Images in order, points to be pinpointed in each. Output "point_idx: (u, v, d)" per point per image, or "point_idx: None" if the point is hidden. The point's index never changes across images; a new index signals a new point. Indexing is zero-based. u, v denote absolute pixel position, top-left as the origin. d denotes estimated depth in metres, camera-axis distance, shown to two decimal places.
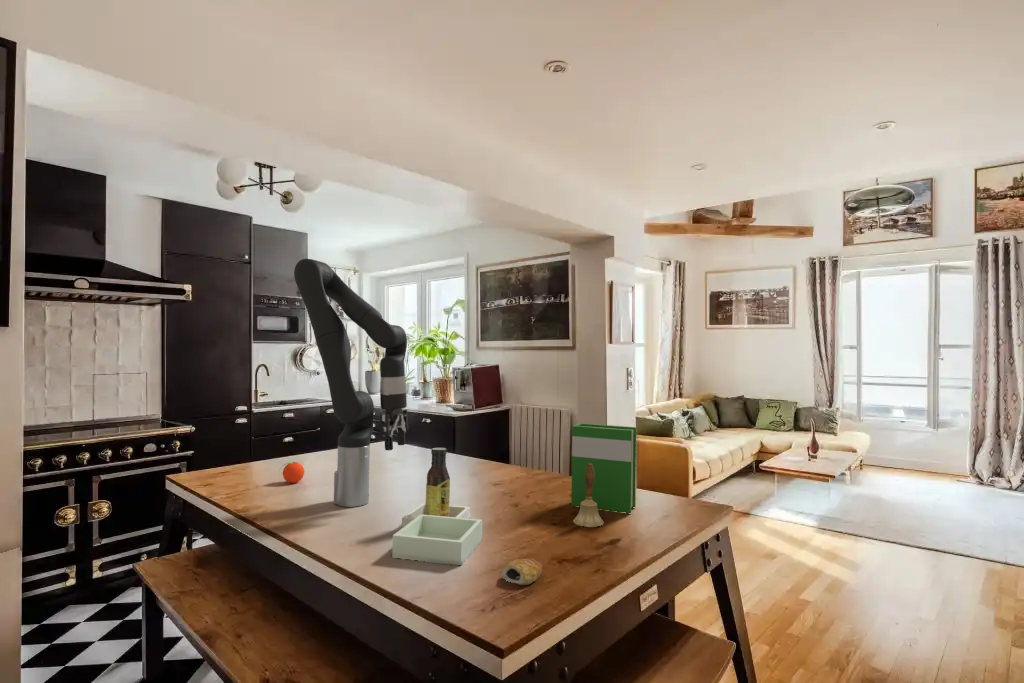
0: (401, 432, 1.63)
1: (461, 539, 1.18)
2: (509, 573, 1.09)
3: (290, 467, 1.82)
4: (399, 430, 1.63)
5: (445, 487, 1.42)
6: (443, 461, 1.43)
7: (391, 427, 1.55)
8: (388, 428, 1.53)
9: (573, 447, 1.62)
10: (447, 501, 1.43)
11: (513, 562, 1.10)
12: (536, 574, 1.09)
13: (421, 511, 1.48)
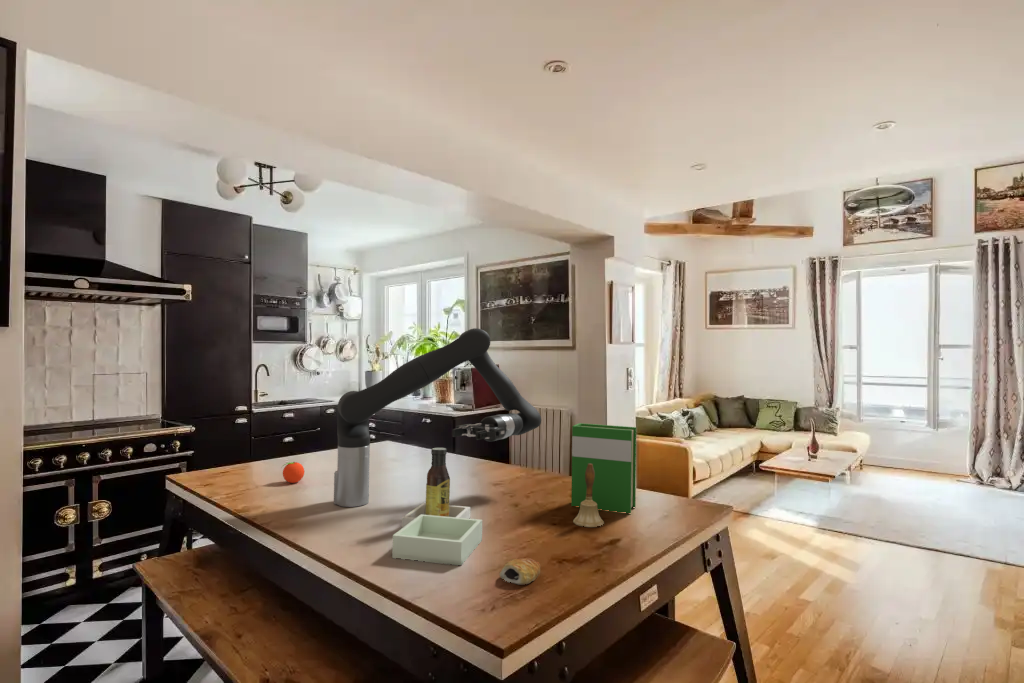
0: (461, 432, 1.59)
1: (461, 539, 1.18)
2: (508, 573, 1.09)
3: (290, 467, 1.82)
4: (462, 429, 1.59)
5: (445, 487, 1.42)
6: (443, 461, 1.43)
7: None
8: (496, 437, 1.55)
9: (573, 447, 1.62)
10: (447, 501, 1.43)
11: (511, 562, 1.10)
12: (534, 574, 1.09)
13: (421, 511, 1.48)
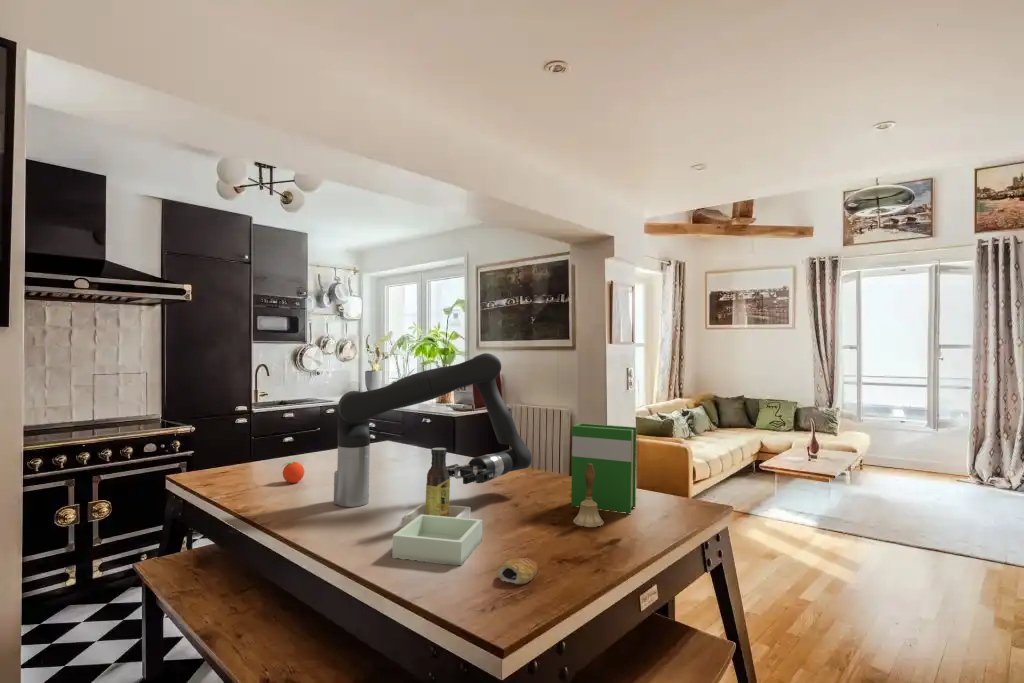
0: (449, 474, 1.54)
1: (461, 539, 1.18)
2: (505, 573, 1.09)
3: (290, 467, 1.82)
4: (450, 471, 1.55)
5: (445, 487, 1.42)
6: (443, 461, 1.43)
7: None
8: None
9: (573, 447, 1.62)
10: (447, 501, 1.43)
11: (509, 562, 1.11)
12: (532, 573, 1.09)
13: (421, 511, 1.48)
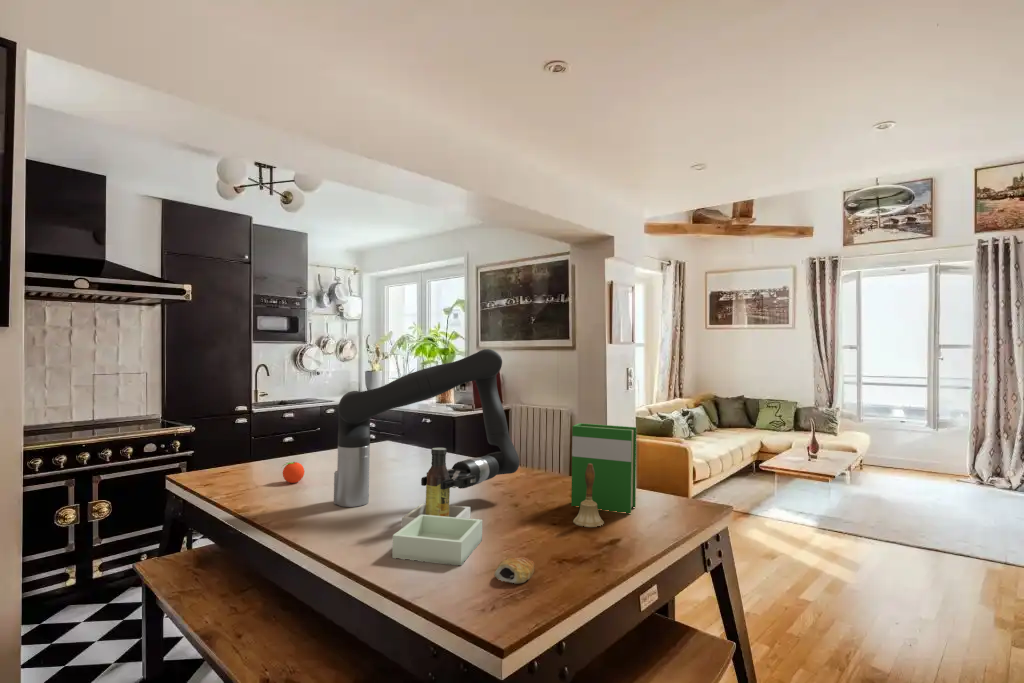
0: None
1: (461, 539, 1.18)
2: (503, 572, 1.09)
3: (290, 467, 1.82)
4: None
5: None
6: (443, 461, 1.43)
7: None
8: None
9: (573, 447, 1.62)
10: (447, 501, 1.43)
11: (506, 561, 1.11)
12: (529, 573, 1.10)
13: (421, 511, 1.48)
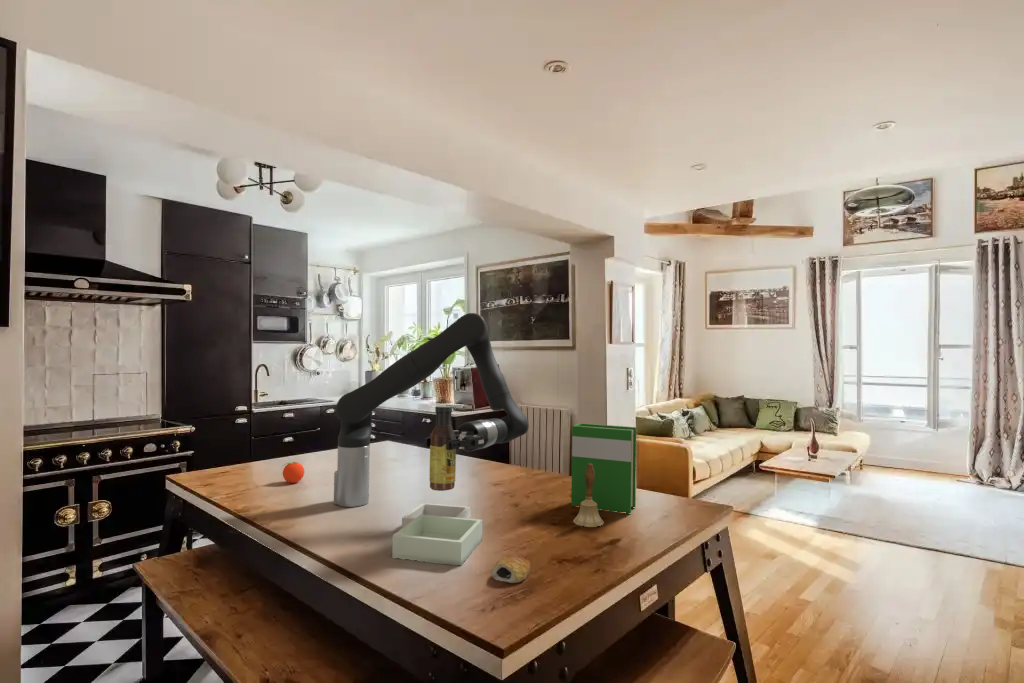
0: None
1: (461, 539, 1.18)
2: (500, 572, 1.09)
3: (290, 467, 1.82)
4: None
5: None
6: (448, 420, 1.30)
7: None
8: (472, 447, 1.31)
9: (573, 447, 1.62)
10: (454, 463, 1.30)
11: (503, 561, 1.11)
12: (526, 572, 1.10)
13: (421, 511, 1.48)
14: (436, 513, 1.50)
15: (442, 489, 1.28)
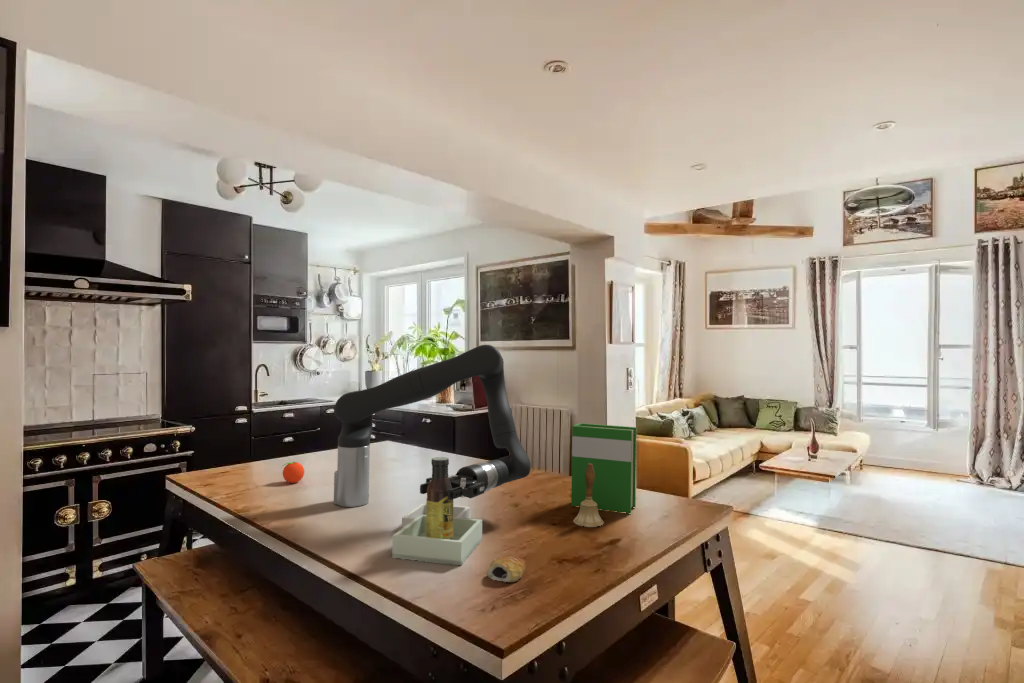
0: None
1: (461, 539, 1.18)
2: (495, 572, 1.09)
3: (290, 467, 1.82)
4: None
5: (448, 502, 1.24)
6: (445, 473, 1.25)
7: None
8: None
9: (573, 447, 1.62)
10: (451, 518, 1.25)
11: (498, 560, 1.11)
12: (521, 571, 1.10)
13: (421, 511, 1.48)
14: None
15: None
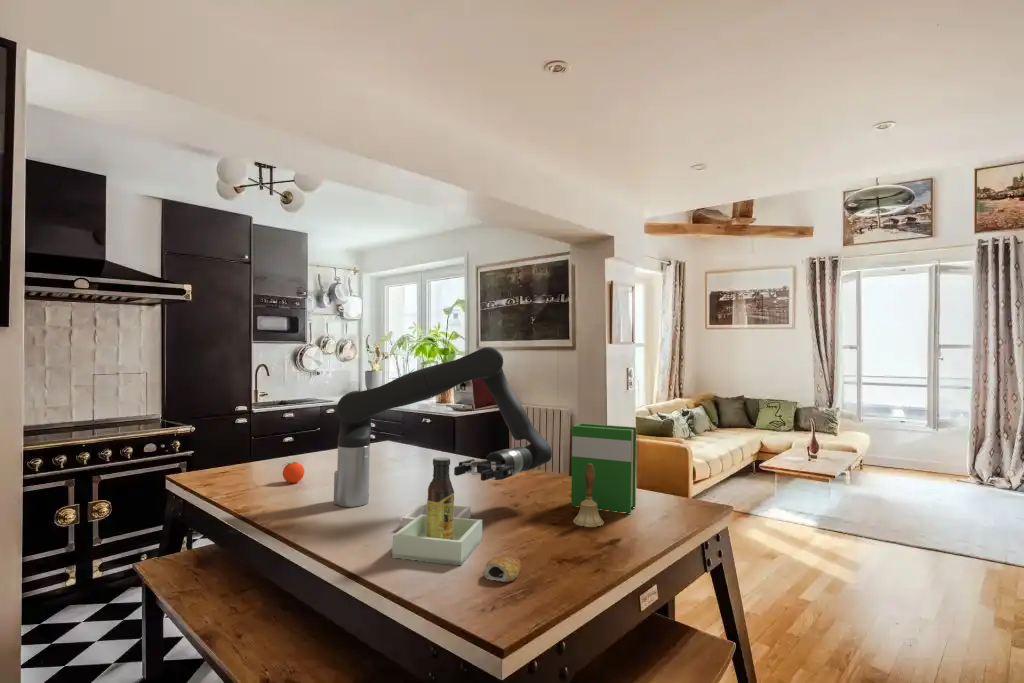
0: (465, 470, 1.42)
1: (461, 539, 1.18)
2: (492, 571, 1.09)
3: (290, 467, 1.82)
4: (466, 467, 1.43)
5: (449, 502, 1.24)
6: (446, 473, 1.25)
7: None
8: None
9: (573, 447, 1.62)
10: (451, 518, 1.25)
11: (494, 560, 1.11)
12: (518, 570, 1.11)
13: (421, 511, 1.48)
14: None
15: None
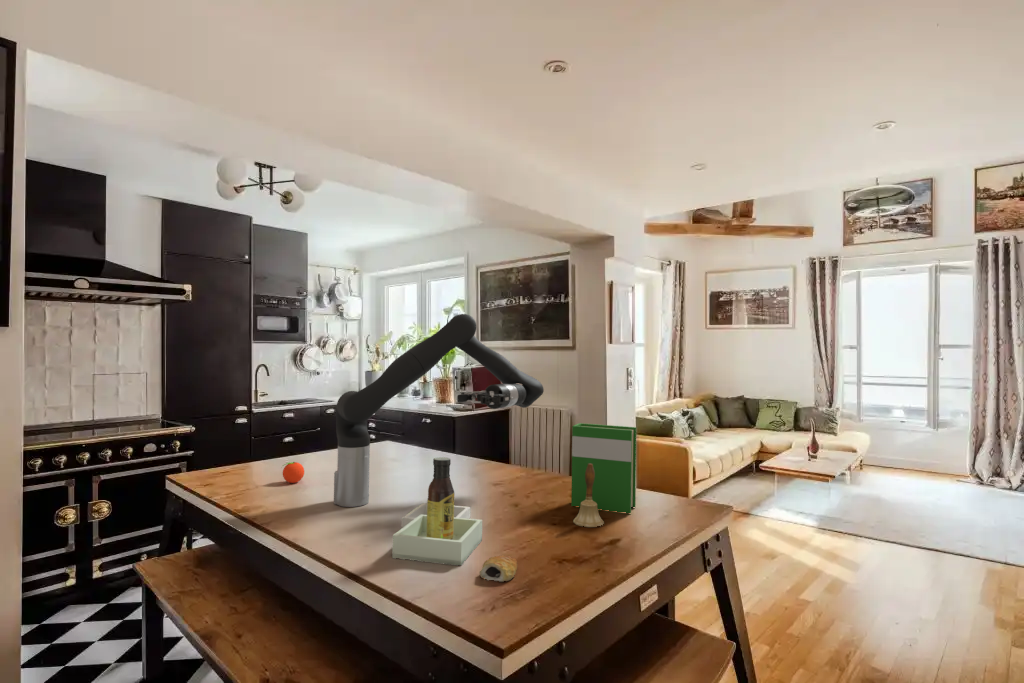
0: (466, 398, 1.62)
1: (461, 539, 1.18)
2: (489, 571, 1.09)
3: (290, 467, 1.82)
4: (467, 396, 1.62)
5: (449, 502, 1.24)
6: (447, 473, 1.25)
7: None
8: None
9: (573, 447, 1.62)
10: (452, 518, 1.25)
11: (491, 560, 1.11)
12: (514, 570, 1.11)
13: (421, 511, 1.48)
14: None
15: None
